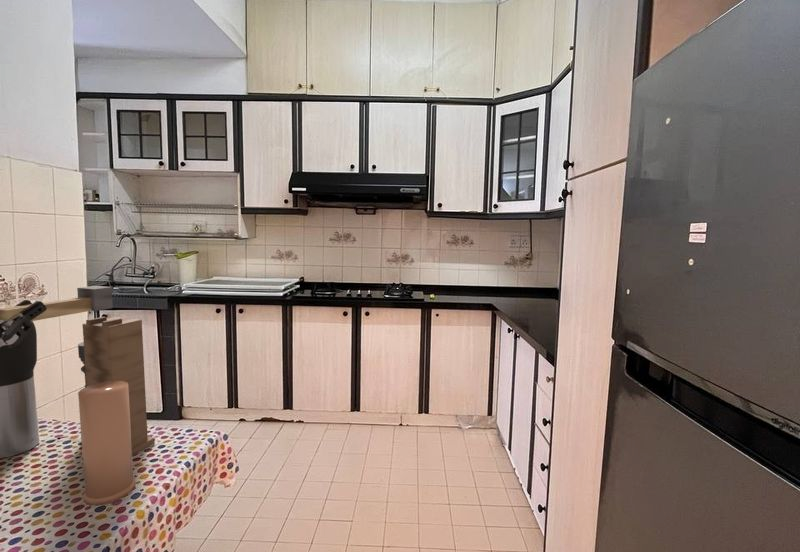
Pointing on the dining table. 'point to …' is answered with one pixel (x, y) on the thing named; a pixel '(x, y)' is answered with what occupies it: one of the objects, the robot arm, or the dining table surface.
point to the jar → (106, 442)
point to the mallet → (69, 304)
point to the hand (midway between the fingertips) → (36, 304)
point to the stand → (119, 366)
